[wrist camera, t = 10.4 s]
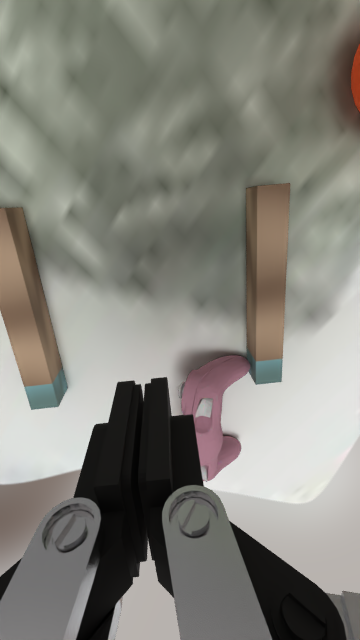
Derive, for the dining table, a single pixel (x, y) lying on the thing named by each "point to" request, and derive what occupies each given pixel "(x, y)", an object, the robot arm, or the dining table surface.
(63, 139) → the dining table surface
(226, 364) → the video game controller
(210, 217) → the dining table surface
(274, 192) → the channel
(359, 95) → the clementine
